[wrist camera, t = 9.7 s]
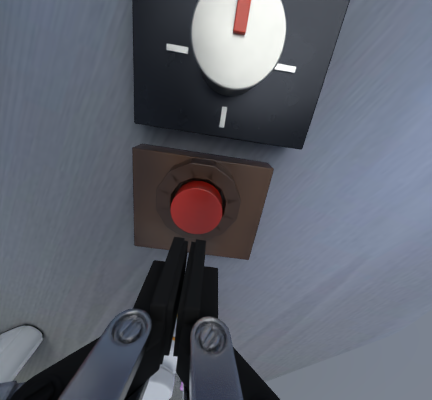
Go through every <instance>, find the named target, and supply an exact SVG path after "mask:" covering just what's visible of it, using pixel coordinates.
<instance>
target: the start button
mask: <svg viewBox="0 0 432 400" xmlns="http://www.w3.org/2000/svg"><path fill="white" fill-rule="evenodd" d="M170 212H171V217H172V219H173V221H174V223H175V224H176V225H177V226H178V227H179V228H180V229H182V230H183V231H185V232H188V233H191V234H204V233H207V232H210V231H211V230H213V229H214V228H215V227H216V226H217V225H218V224H219V222H220V221H221V218H222V199H221V195H220V193H219V192H218V190H217V189H216V188H215V187H214V186H212V185H211V184H209V183H207V182H204V181H191V182H188V183H186V184H184V185H183V186H181V187H180V188H179V190H178V191H177V193H176V195H175V197H174V199H173V201H172V203H171V208H170Z"/></svg>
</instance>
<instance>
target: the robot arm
mask: <svg viewBox="0 0 432 400" xmlns="http://www.w3.org/2000/svg"><path fill="white" fill-rule="evenodd" d="M205 249H206V240H198V239H196V242H191V247H190V252H189V257H188V262H187V267H186V259H187V250H188V241H185V238H182V237H174V238H173V241H172V244H171V247H170V250H169V253H168V256H167V258H166V261H165V262H164V261H156V260H154V261H153V263H152V266H151V268H150V270H149V273H148V275H147V277H146V280H145V282H144V284H143V286H142V289H141V291H140V293H139V296H138V298H137V300H136V303H135V305H134V307H133V309H128V310H125V311H123V312H121V313H119V314H118V315H117V316H115V317H114V319H113V320H112V321H111V322H110V324H109V325H108V326H107V328H106V329H105V331H104V332H103V334H102V335H101V337H99V338H98V339H96V340H94V341H92V342H91V343H89V344H87V345H86V346H84V347H82V348H81V349H79V350H77V351H76V352H74V353H72V354H71V355H69V356H67V357H66V358H64V359H62V360H61V361H59V362H57V363H56V364H54V365H52V366H50V367H49V368H47V369H45V370H44V371H42V372H40V373H39V374H37V375H35V376H34V377H32V378H31V379H30V380H28V381H27V382H24V383H17V381H10V382H4V383H0V400H142V398H143V396H144V393H145V390H146V388H147V385H148V382H149V378H150V377H151V376H152V375H154V374H155V373H156V372H157V371H158V370H159V368H160V364H162V363H163V359H164V355H166V356H169V354H170V349H171V344H172V339H173V334H174V329H175V324H176V319H177V324H176V334H175V343H174V353H173V356H176V357H177V365H176V372H177V374H178V376H179V377H180V379H181V380H182V382H183V400H280V399H279V398H278V397H277V395H276V394H275V393H274V392H273V391H272V390H271V389H270V388H269V387H268V385H267V384H266V383H265V382H264V381H263V380H262V379H261V378H260V376H259V375H258V374H257V373H256V372H255V371H254V370H253V369H252V368H251V366H250V365H249V364H248V363H247V362H246V361H245V360H244V359H243V357H242V356H241V355H240V354H239V353H238V352H237V351H236V350H235V349H234V347H233V345H232V340H231V335H230V332H229V329H228V327H227V326H226V325H225V323H224V322H222V321H221V320H220V319H218V268H213V267H205V266H204V260H205ZM185 268H186V271H185ZM177 314H178V315H177Z"/></svg>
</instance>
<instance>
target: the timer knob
mask: <svg viewBox="0 0 432 400" xmlns="http://www.w3.org/2000/svg"><path fill="white" fill-rule="evenodd" d="M190 35H191V45H192V50H193V54H194V57H195V59H196V62H197V64H198V67H199V69H200V71H201V74H202V76H203V78H204V80H205V82H206V83H207V84H208V85H209V87H210V88H211V89H213V90H214V91H215V92H217V93H219V94H221V95H225V96H238V95H241V94H243V93H245V92H247V91H249V90H250V89H252V88H253V87H255V86H256V85H258V84H259V83H261V82H262V81H264V80H265V79H266V78H267V77H268V76H269V75H270V74H271V72H272V71H273V70H274V68H275V67H276V66H277V64H278V62H279V60H280V58H281V55H282V53H283V50H284V46H285V42H286V36H287V19H286V13H285V9H284V5H283V2H282V0H198V1H197V3H196V6H195V9H194V12H193V16H192V21H191V33H190Z"/></svg>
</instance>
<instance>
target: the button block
mask: <svg viewBox="0 0 432 400" xmlns="http://www.w3.org/2000/svg"><path fill="white" fill-rule="evenodd" d="M132 151H133V198H134V245H135V246H141V247H149V248H157V249H165V250H170V247H171V244H172V241H173V238H174V237H182V238H185V241H188V250H187V252H190V247H191V242H196V239H198V240H206V249H205V255H214V256H222V257H230V258H238V259H246V260H249V257H250V254H251V250H252V247H253V243H254V239H255V236H256V232H257V228H258V225H259V221H260V217H261V214H262V210H263V207H264V203H265V199H266V196H267V192H268V188H269V185H270V181H271V178H272V174H273V170H274V169H273V168H272V167H271V166H270V165H269V164H268V163H265V162H259V161H252V160H245V159H239V158H232V157H226V156H219V155H213V154H206V153H199V152H193V151H186V150H180V149H173V148H166V147H160V146H153V145H147V144H140V145H138V146H135V147H133V148H132ZM191 181H204V182H207V183H209V184H211V185H212V186H214V187H215V188H216V189H217V190H218V192H219V193H220V195H221V199H222V218H221V221H220V222H219V224H218V225H217V226H216V227H215V228H214V229H213V230H211V231H210V232H207V233H204V234H191V233H188V232H185V231H183V230H182V229H180V228H179V227H178V226H177V225H176V224H175V223H174V221H173V219H172V217H171V212H170V208H171V203H172V201H173V199H174V197H175V195H176V193H177V191H178V190H179V188H180V187H181V186H183V185H184V184H186V183H188V182H191Z"/></svg>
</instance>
